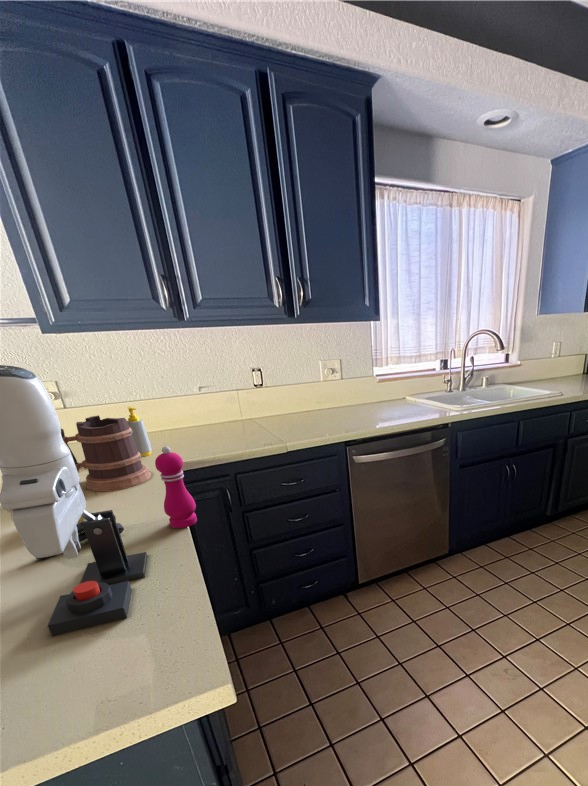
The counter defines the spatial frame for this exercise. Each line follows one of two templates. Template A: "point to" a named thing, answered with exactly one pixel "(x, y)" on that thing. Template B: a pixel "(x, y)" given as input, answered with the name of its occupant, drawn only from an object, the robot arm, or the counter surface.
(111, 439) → the mug
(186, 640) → the counter surface
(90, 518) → the lever
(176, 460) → the pepper mill
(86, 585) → the button
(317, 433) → the counter surface
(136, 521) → the counter surface
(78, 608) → the control block
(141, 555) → the bracket
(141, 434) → the soap bottle
